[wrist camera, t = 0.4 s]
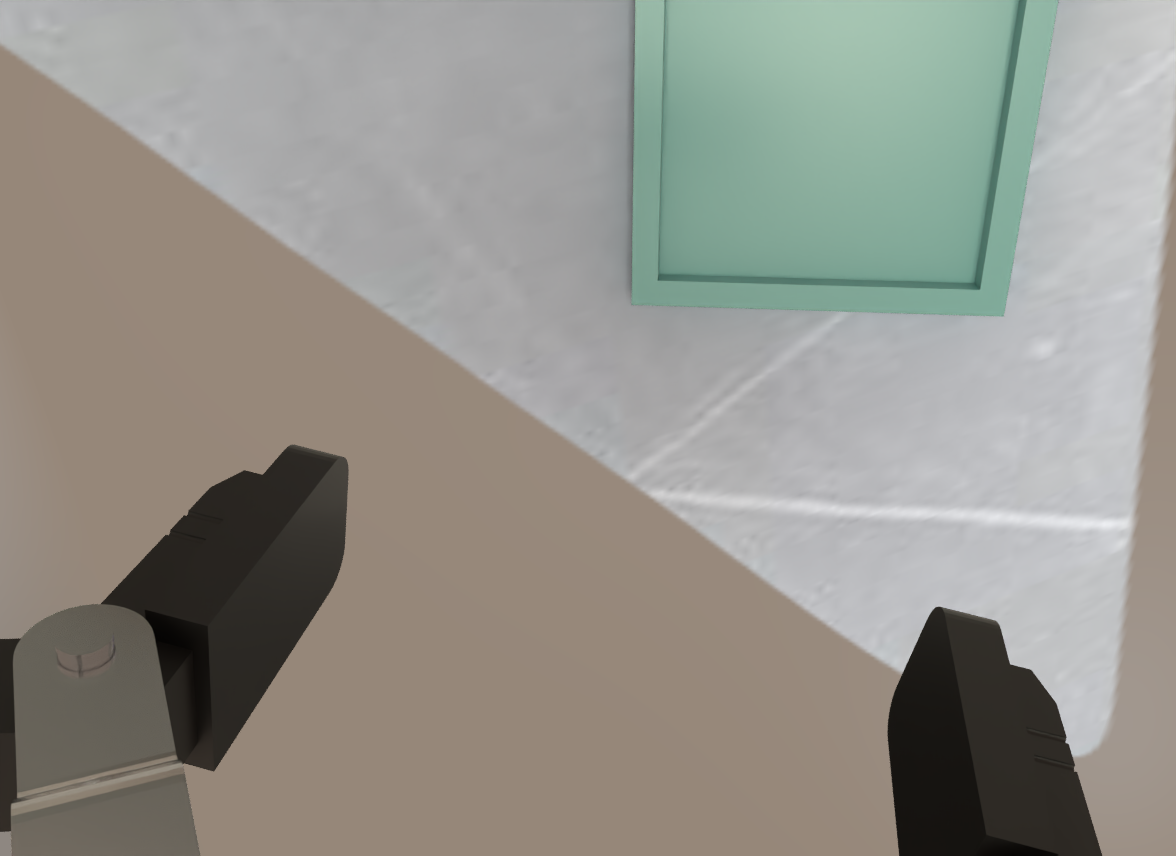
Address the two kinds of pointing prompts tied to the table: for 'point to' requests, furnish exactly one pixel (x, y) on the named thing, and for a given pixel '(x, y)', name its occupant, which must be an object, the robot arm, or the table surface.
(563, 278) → the table surface
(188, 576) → the robot arm
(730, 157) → the tray
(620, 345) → the table surface
